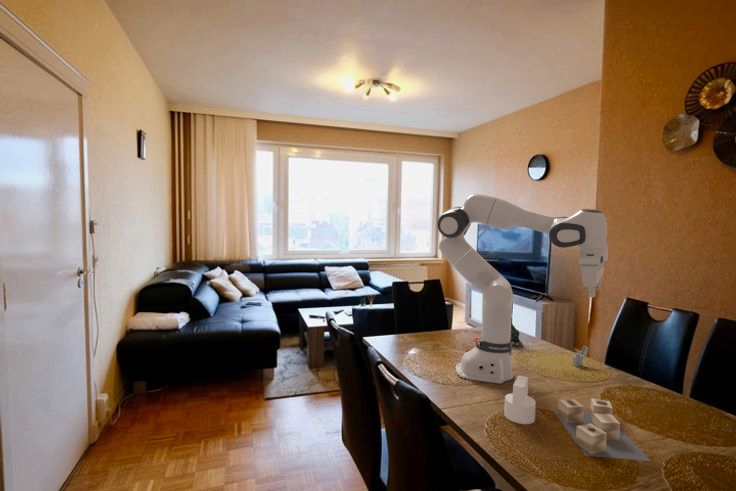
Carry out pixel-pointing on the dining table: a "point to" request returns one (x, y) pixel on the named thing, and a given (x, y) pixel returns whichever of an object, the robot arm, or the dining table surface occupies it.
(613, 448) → the mat
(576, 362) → the lighter
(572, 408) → the marked block
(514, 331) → the frog figurine
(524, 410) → the cylinder with rectangular tab
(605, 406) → the marked block
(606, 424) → the plain block
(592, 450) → the marked block
